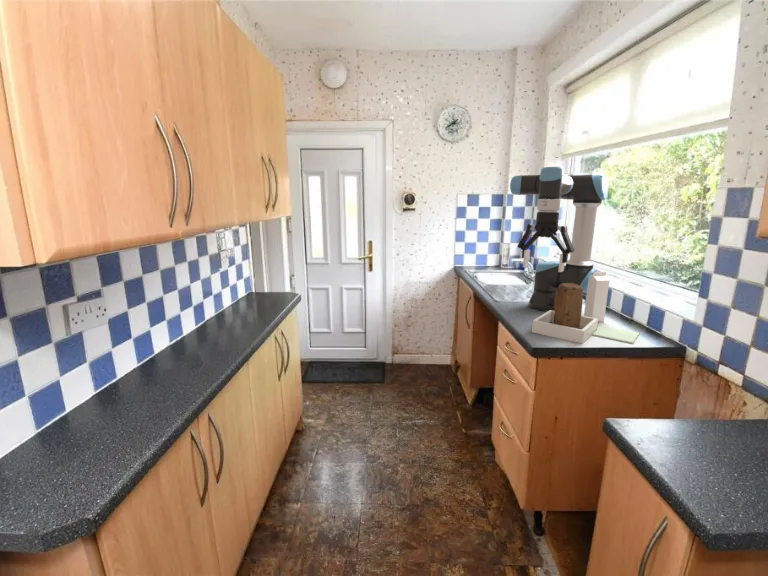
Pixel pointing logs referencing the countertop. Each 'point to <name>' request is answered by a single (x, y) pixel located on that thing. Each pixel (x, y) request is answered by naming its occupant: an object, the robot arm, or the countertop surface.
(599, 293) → the milk
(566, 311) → the brown rough stone
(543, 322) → the holder
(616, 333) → the mat
